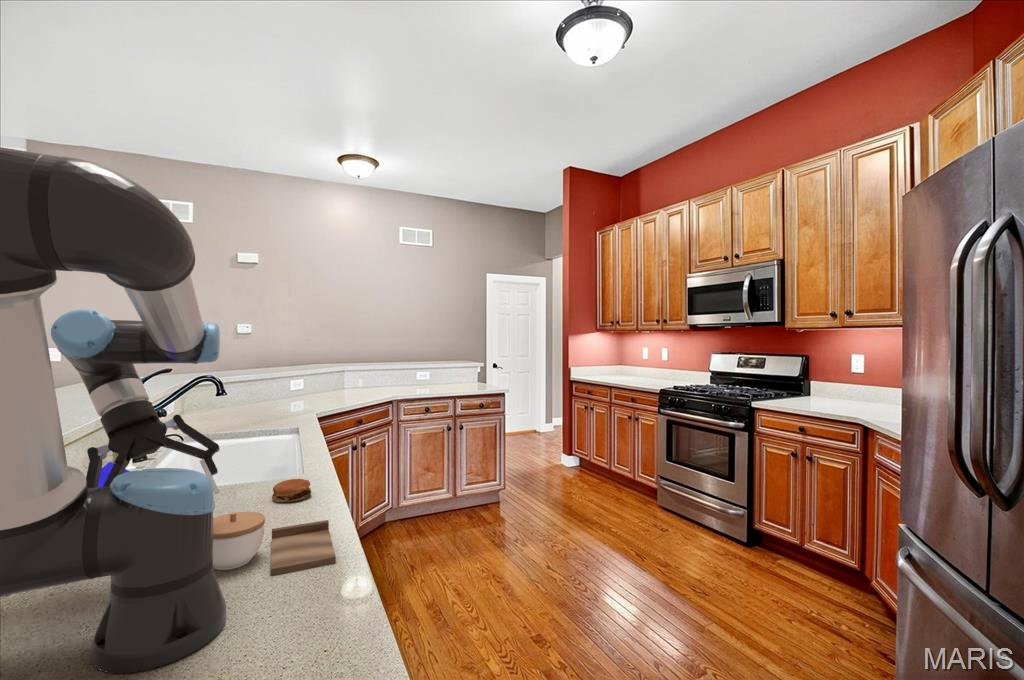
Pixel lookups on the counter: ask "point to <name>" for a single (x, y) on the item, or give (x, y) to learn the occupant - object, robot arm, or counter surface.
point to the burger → (291, 490)
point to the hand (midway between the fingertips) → (174, 513)
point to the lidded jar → (236, 538)
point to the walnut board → (301, 547)
